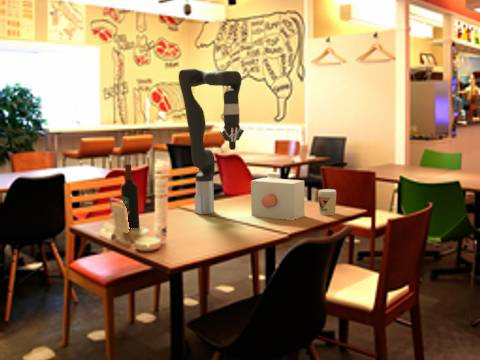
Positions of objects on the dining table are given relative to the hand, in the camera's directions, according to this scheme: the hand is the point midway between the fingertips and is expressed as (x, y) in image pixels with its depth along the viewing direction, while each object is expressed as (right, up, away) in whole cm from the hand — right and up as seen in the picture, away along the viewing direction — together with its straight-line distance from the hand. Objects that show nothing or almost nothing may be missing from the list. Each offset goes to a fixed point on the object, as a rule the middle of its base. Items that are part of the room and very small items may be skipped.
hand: (232, 149), depth 267 cm
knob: (+20, -28, +8) cm, 35 cm away
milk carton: (+22, -30, +32) cm, 49 cm away
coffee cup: (+48, -32, +16) cm, 60 cm away
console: (+23, -33, +14) cm, 42 cm away
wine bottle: (-48, -37, -4) cm, 61 cm away
